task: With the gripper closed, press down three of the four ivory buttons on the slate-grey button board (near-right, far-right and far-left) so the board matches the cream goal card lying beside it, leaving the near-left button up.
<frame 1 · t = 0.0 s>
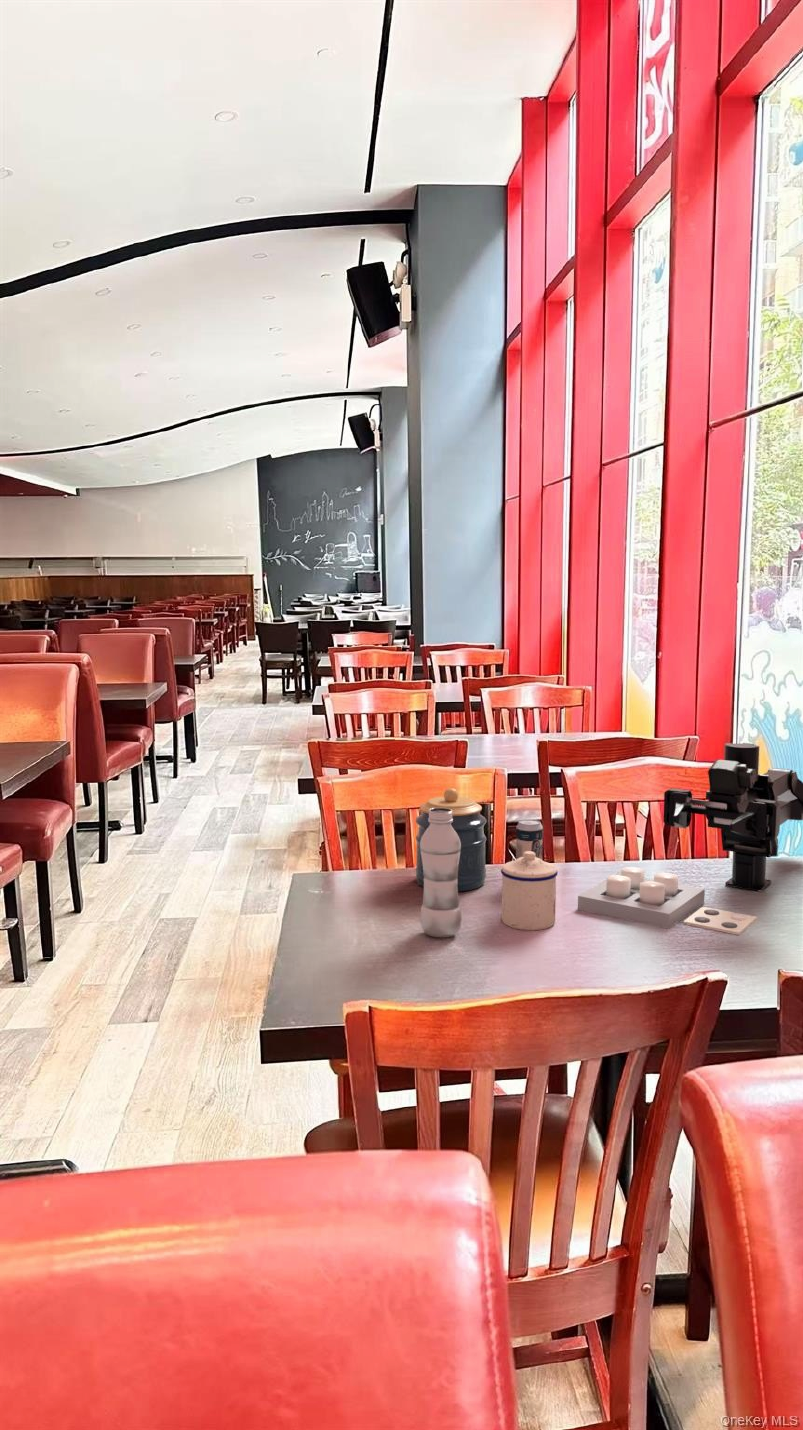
hand: (702, 823, 158), 17 cm above the table, tool horizontal, fingers open, 9 cm apart
button b: (665, 885, 170), point 3 cm above the table, slide at 0.0 cm
button c: (618, 887, 168), point 3 cm above the table, slide at 0.0 cm
board: (641, 906, 169), on the table
canister: (450, 883, 183), on the table
button d: (652, 894, 165), point 3 cm above the table, slide at 0.0 cm
goal card: (720, 921, 161), on the table
teacup with lid: (523, 920, 163), on the table
button a: (632, 879, 173), point 3 cm above the table, slide at 0.0 cm
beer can: (528, 887, 181), on the table
plastic bottle: (440, 936, 156), on the table
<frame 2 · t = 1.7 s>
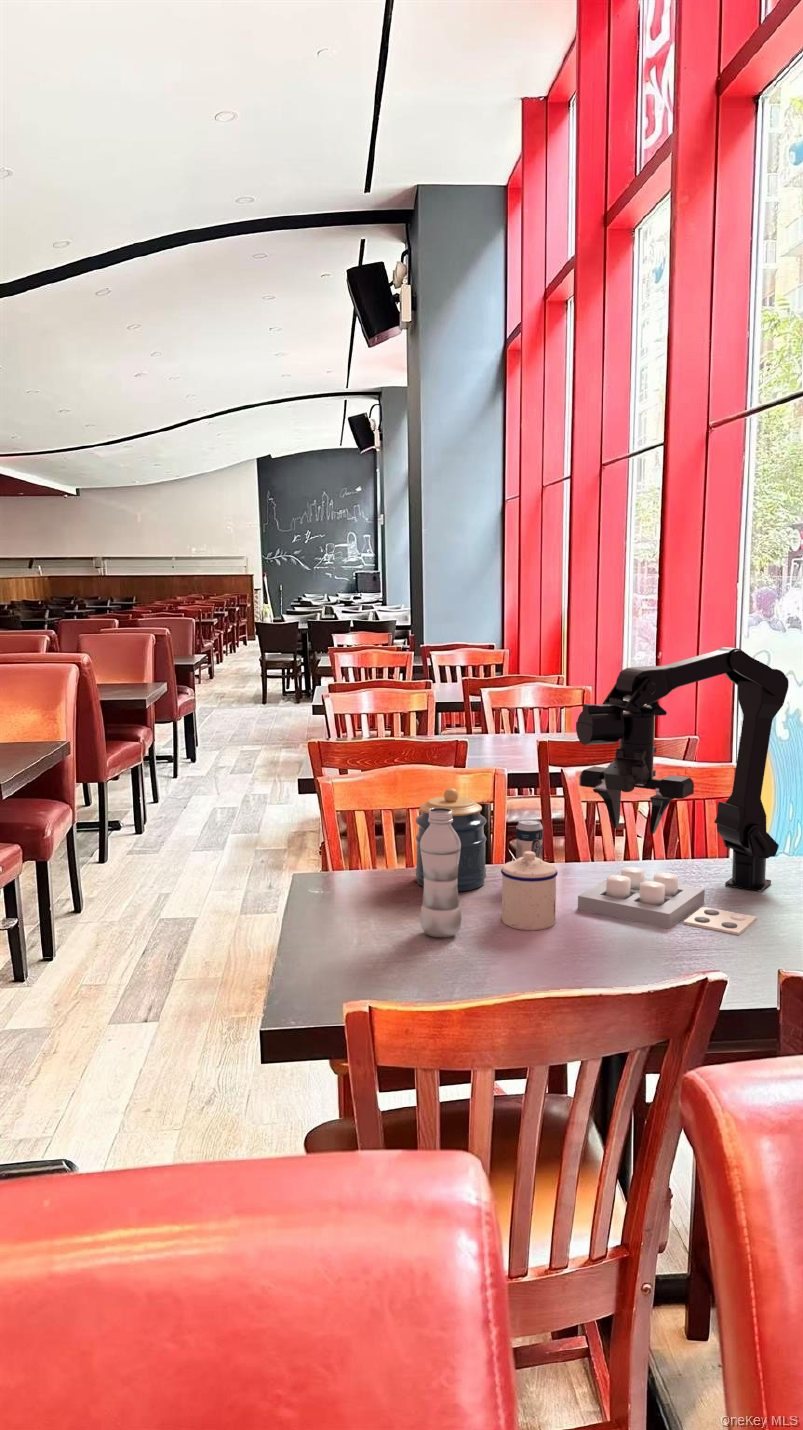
hand: (634, 831, 172), 12 cm above the table, tool pointing down, fingers open, 6 cm apart
nothing on the table moved.
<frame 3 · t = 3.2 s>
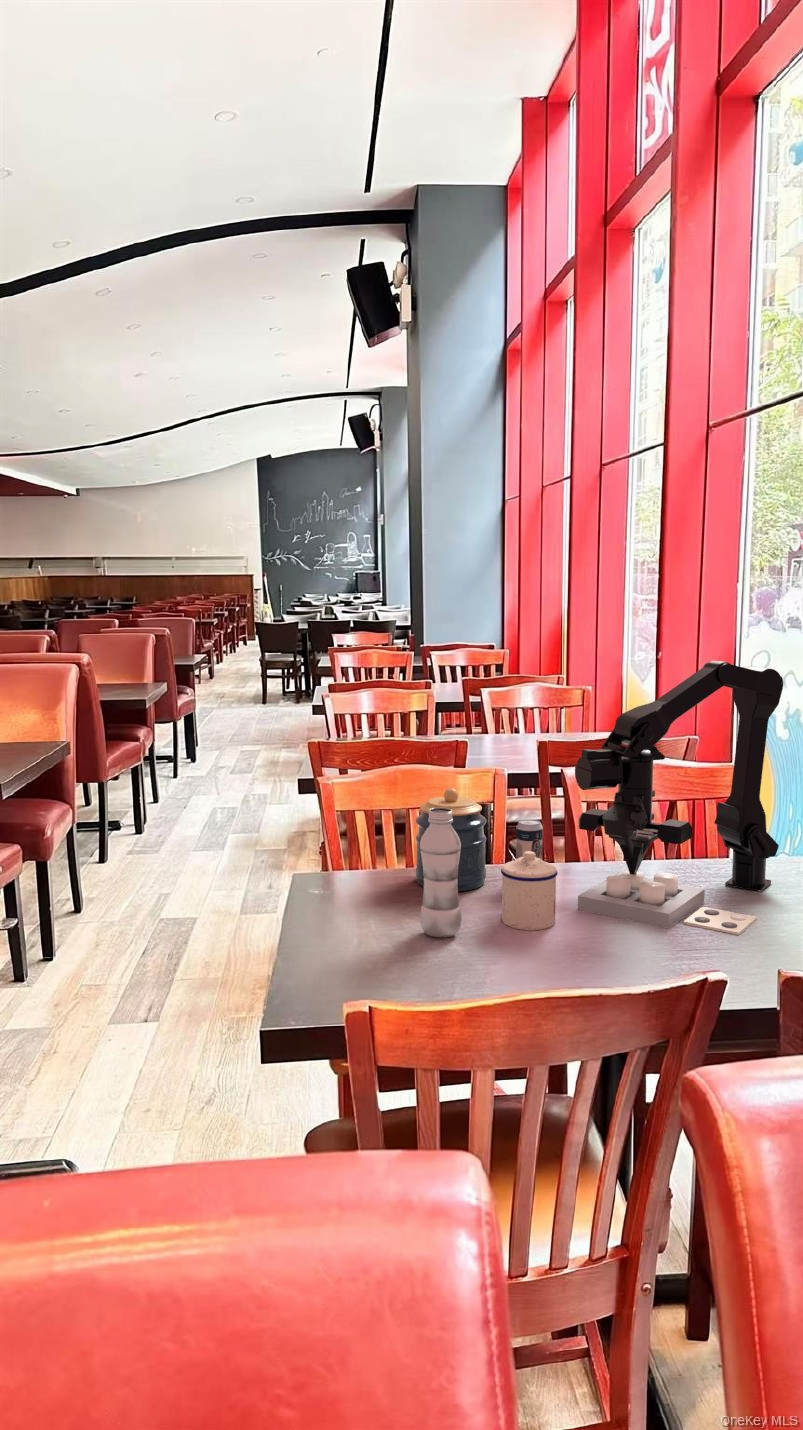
hand: (633, 874, 173), 4 cm above the table, tool pointing down, fingers closed, pressing on button a
button a: (632, 882, 173), point 3 cm above the table, slide at 0.6 cm, touching gripper
everything else where it was.
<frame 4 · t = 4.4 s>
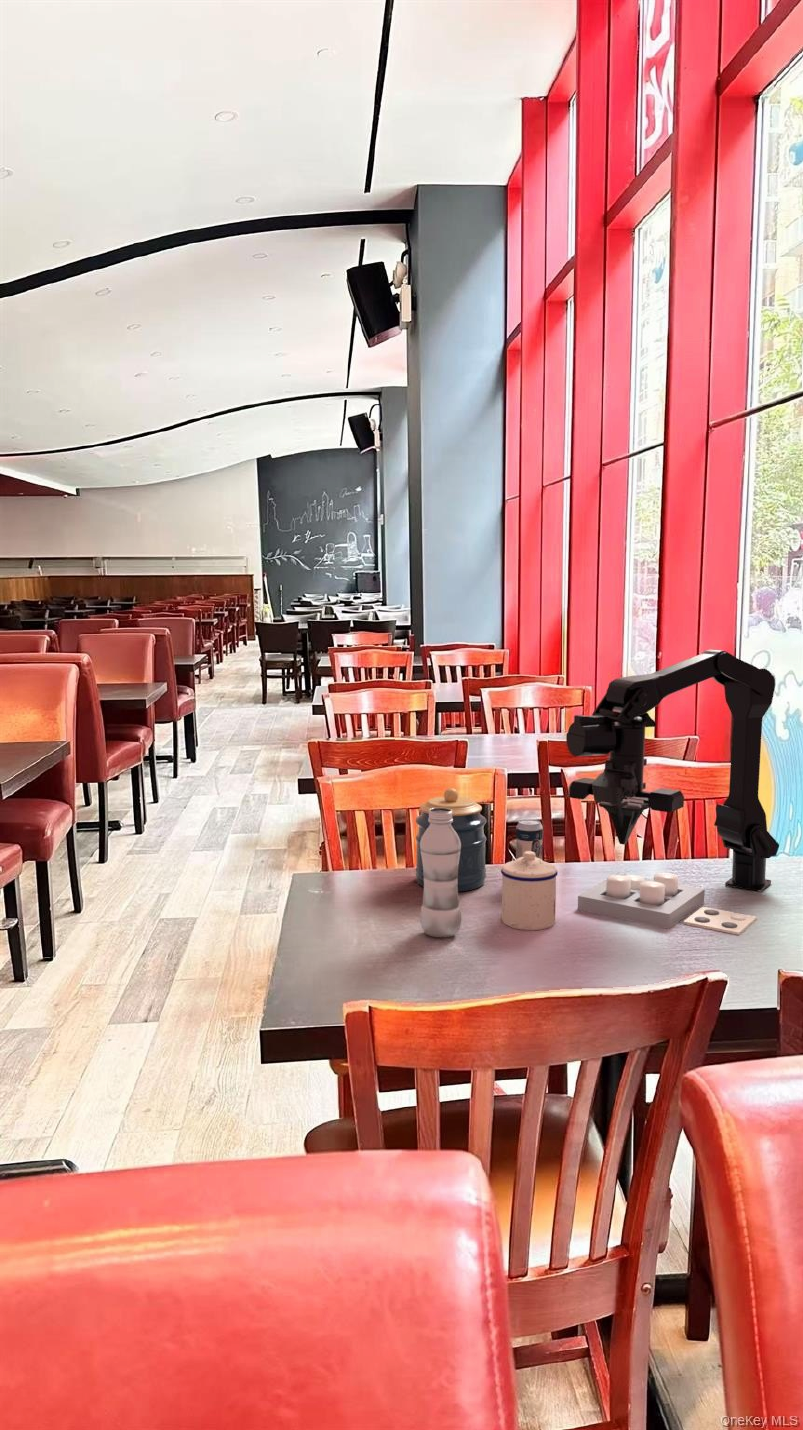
hand: (622, 844, 169), 11 cm above the table, tool pointing down, fingers closed
button a: (632, 887, 173), point 2 cm above the table, slide at 1.5 cm
everything else where it was.
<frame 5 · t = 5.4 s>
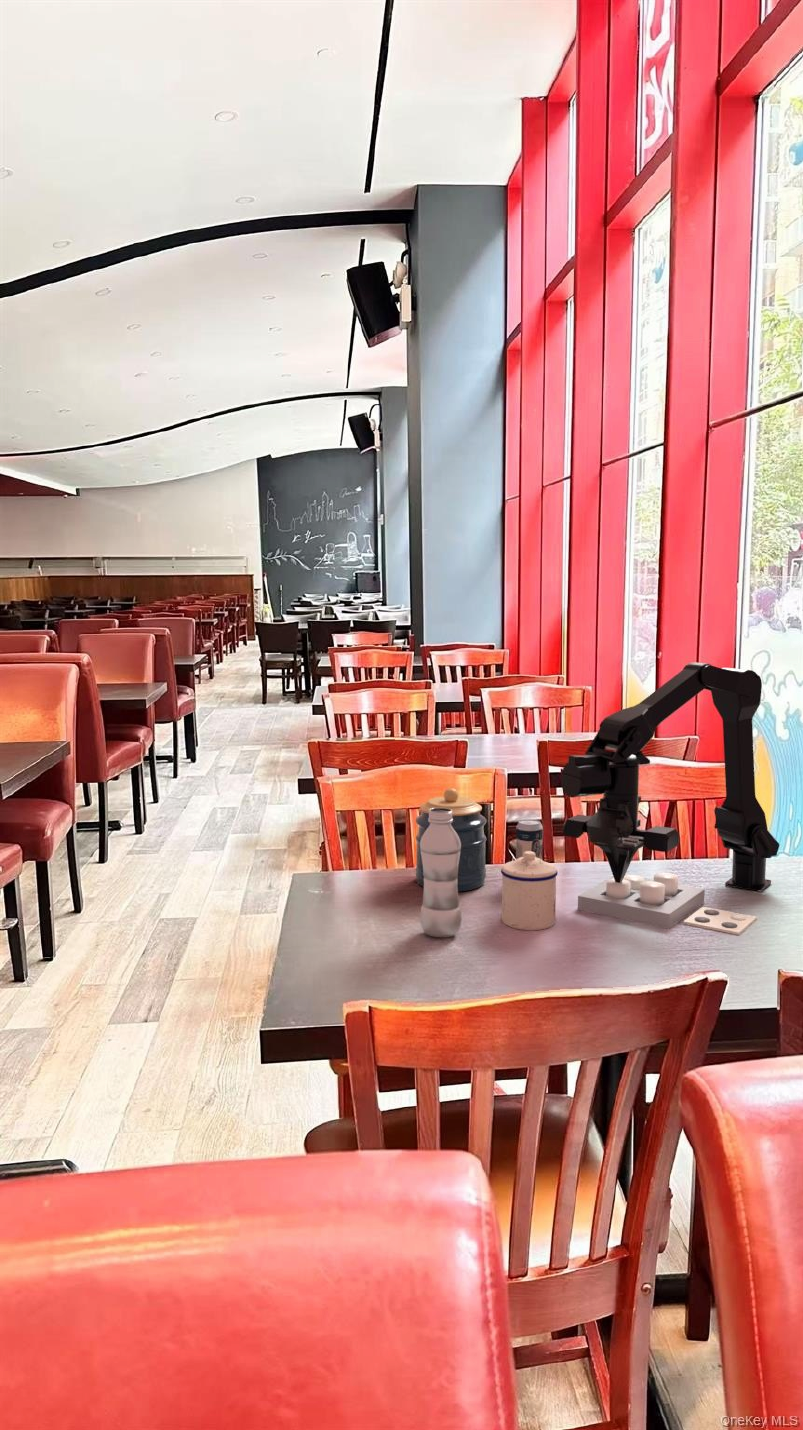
hand: (618, 882, 168), 4 cm above the table, tool pointing down, fingers closed, pressing on button c
button c: (618, 891, 168), point 3 cm above the table, slide at 0.6 cm, touching gripper
everything else where it was.
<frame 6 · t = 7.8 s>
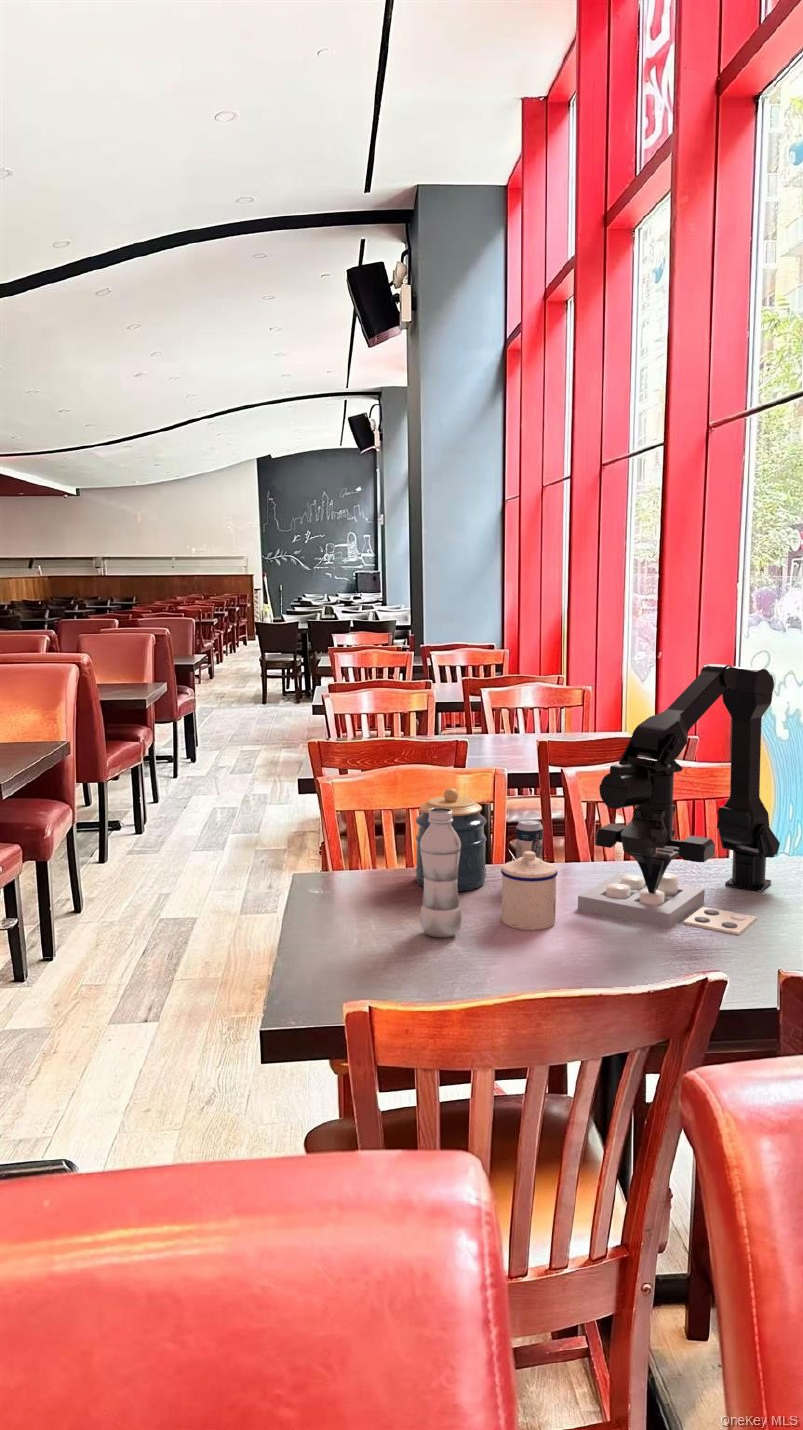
hand: (652, 892, 165), 4 cm above the table, tool pointing down, fingers closed, pressing on button d
button c: (618, 896, 168), point 2 cm above the table, slide at 1.5 cm
button d: (651, 902, 165), point 2 cm above the table, slide at 1.4 cm, touching gripper
everything else where it was.
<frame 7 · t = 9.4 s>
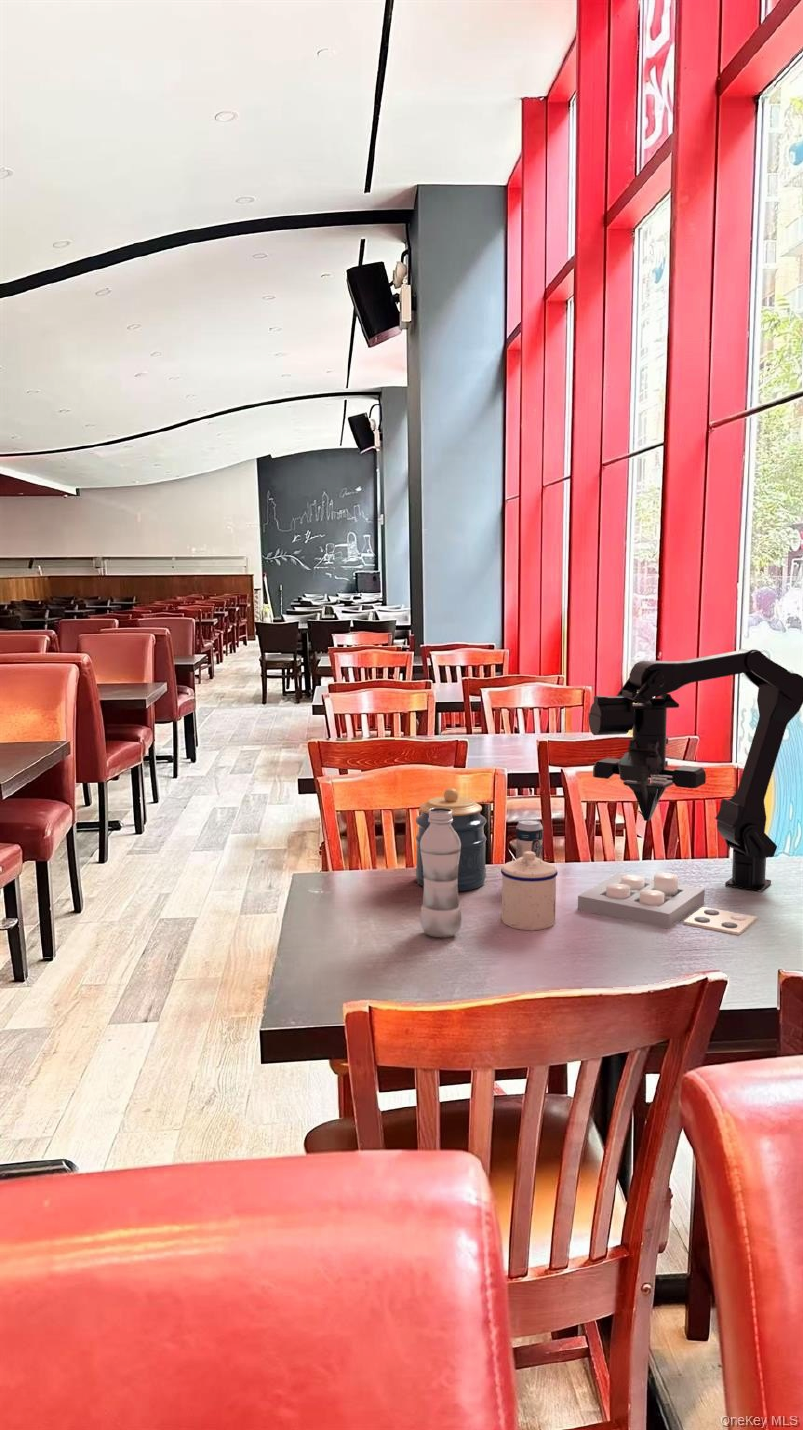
hand: (647, 820, 176), 13 cm above the table, tool pointing down, fingers closed
button d: (651, 902, 165), point 2 cm above the table, slide at 1.5 cm
everything else where it was.
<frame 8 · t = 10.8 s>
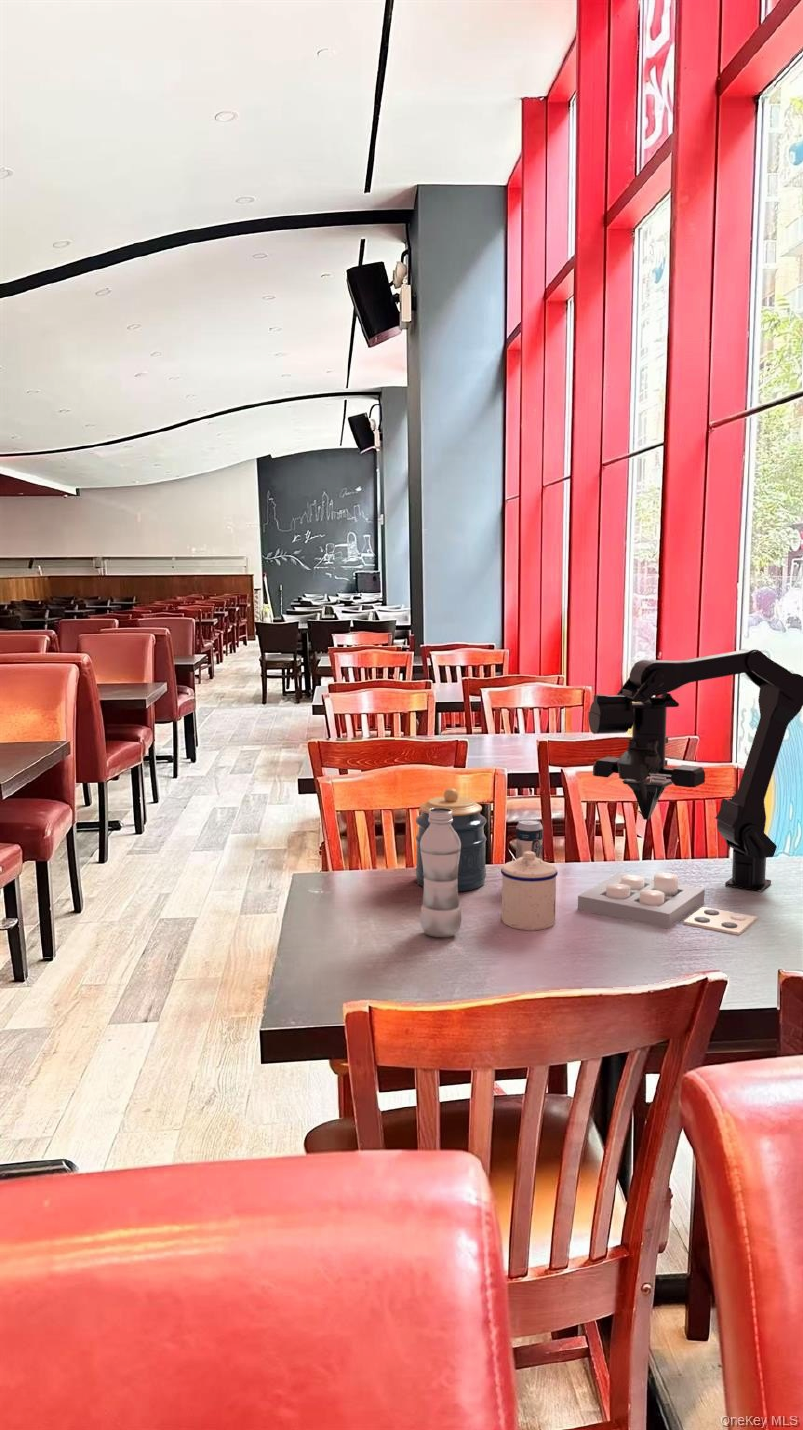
hand: (646, 819, 176), 13 cm above the table, tool pointing down, fingers closed
nothing on the table moved.
at the end: button a slide at 1.5 cm; button d slide at 1.5 cm; button b slide at 0.0 cm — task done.
